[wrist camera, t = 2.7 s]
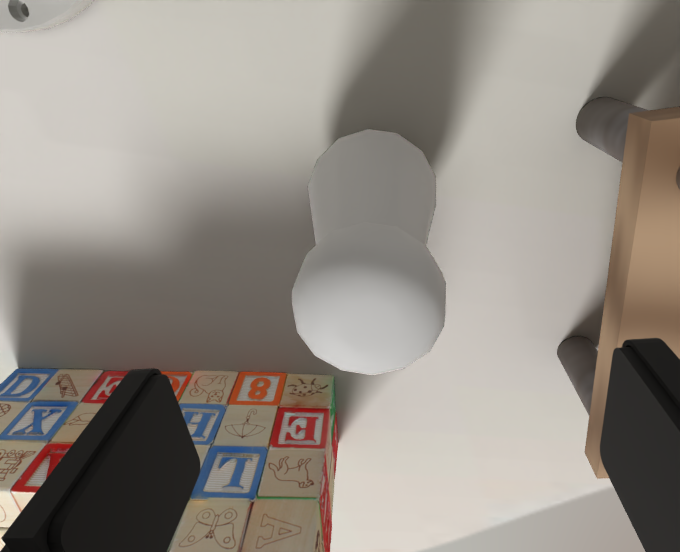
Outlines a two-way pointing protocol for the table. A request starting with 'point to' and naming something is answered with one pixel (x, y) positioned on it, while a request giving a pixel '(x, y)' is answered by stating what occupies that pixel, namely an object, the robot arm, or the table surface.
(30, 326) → the table surface
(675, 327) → the shelf
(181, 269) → the table surface
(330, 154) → the salt shaker
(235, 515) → the stack of blocks
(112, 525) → the robot arm
